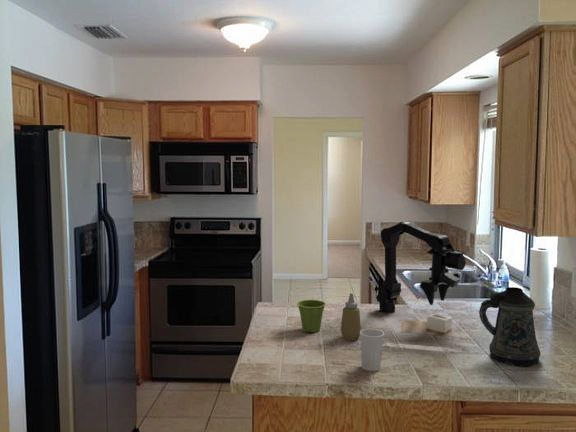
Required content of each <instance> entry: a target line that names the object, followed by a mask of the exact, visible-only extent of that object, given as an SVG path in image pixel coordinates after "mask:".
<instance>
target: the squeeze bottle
mask: <svg viewBox="0 0 576 432" xmlns="http://www.w3.org/2000/svg"><path fill="white" fill-rule="evenodd" d="M344 304H345V305H344V306H345V307H343V308H342V316H341V323H340V333H341V335H342V338H343V339H344V340H346V341H351V342H352V341H358V339H360V331H361V330H362V325H361V323H362V322H361V313H360V308H359V307H358V302H356V301H355V296H354V293H353V292H352V293H351V292H350V293H349V297H348V299H347V301H345V303H344Z"/></svg>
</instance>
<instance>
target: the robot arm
mask: <svg viewBox="0 0 576 432" xmlns="http://www.w3.org/2000/svg"><path fill="white" fill-rule="evenodd" d="M405 233H406V234H407V235H410V236H412V237H414V238H416V239H419V240H421V241H423V242H425V243H426V245H427V246H428V247H430V248H431V249H429V250H428V251H427V254H429V255H432V256H431V267H429V268H428V269H429V271H431V273H430V276H429V277H428V279H425V280H422V281H421V282H420V283H419V288H420V289H421V290H423V292H424V294H425V296H426V299H427V301H428V303H429V305H430V306H433V305H434V300H435V295H436V293H437V292H438V294H439V298H440V301H442V302H444V300H445V299H446V296H447V293H448V290H449V289H450V288H455V287H457V286H458V285H459V283H461V274H460V273H459V272H455V273H450V272H449V269H453V270H458V271H463V270H464V269H465V267H466V263H467V262H466V261H467V260H466V258H465V256H464V253H463V252H456V250H455V249H454V246H453V245H452V243H451V241H450V237H449V236H448V235H446V234H441V233H437V232H432V231H431V232H430V231H428V230H426V229H423V228H421V227H419V226H417V225H415V224H413V223H410V222H409V221H401V222H398V223H396V224H395V225H392V226H390V227H385V228H382V230H381V231H380V240H381V243H382V245H383V247H384V281H383V282H382V285H381V288H380V289H381V290H380V292H379V293H378V294H377V295H376V296H375V297H376V298H375V299H376V302H379V312H381V313H385V314H389V313H395V312H396V303H395V301H397V299H398V297H399V296H400V295H401V293H402V289H401V288H402V283H401V282H398V280H397V246H398V244H399V242H400V236H402V235H404V234H405Z"/></svg>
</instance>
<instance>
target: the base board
mask: <svg viewBox="0 0 576 432" xmlns="http://www.w3.org/2000/svg"><path fill="white" fill-rule="evenodd" d="M400 327H401V328H400V333H404V334H418V335H429V336H441V337H453V338H454V332H453V329H452V330H450V331H448V332H446V333H443V332H439V331H435V330H431V329H428V328H427V321H419V320H407V319H406V320H404V319H401V325H400Z"/></svg>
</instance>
